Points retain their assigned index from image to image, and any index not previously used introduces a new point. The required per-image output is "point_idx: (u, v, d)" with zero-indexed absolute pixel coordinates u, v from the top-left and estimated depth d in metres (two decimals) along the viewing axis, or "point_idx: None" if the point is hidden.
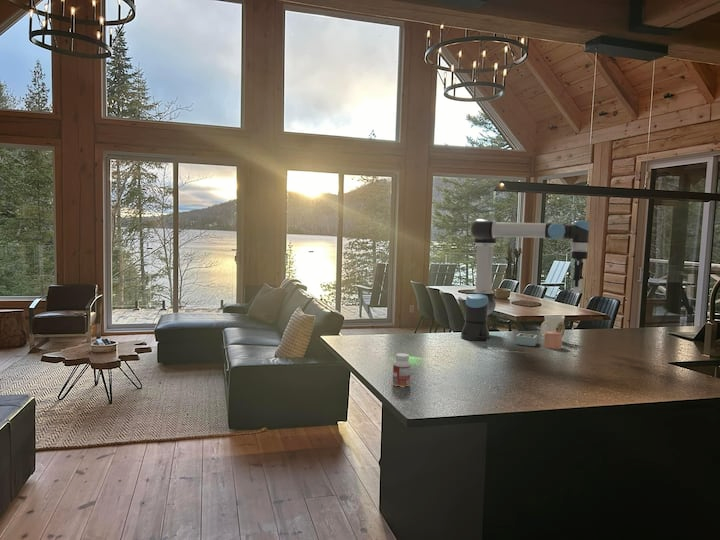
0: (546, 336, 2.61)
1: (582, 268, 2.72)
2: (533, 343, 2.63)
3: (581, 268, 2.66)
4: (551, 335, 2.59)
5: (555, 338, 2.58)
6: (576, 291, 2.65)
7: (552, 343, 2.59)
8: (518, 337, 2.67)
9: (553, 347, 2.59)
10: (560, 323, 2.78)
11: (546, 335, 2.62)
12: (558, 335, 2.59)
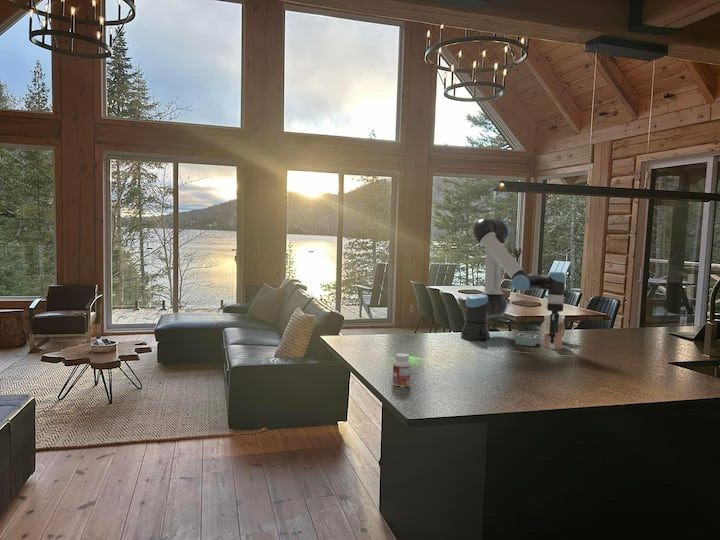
0: (546, 336, 2.61)
1: (558, 321, 2.63)
2: (533, 343, 2.63)
3: (557, 322, 2.58)
4: None
5: (555, 338, 2.58)
6: (552, 347, 2.58)
7: None
8: (518, 337, 2.67)
9: None
10: (560, 323, 2.78)
11: (546, 335, 2.62)
12: (558, 335, 2.58)
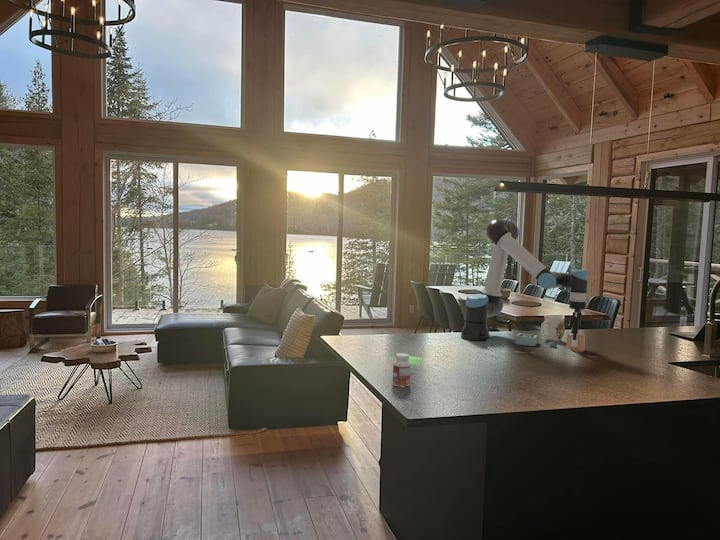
0: (568, 337, 2.61)
1: (580, 318, 2.62)
2: (533, 343, 2.63)
3: (579, 320, 2.57)
4: None
5: (578, 339, 2.57)
6: (574, 344, 2.56)
7: None
8: (518, 337, 2.67)
9: (576, 348, 2.58)
10: (560, 323, 2.78)
11: (568, 336, 2.61)
12: (581, 336, 2.58)
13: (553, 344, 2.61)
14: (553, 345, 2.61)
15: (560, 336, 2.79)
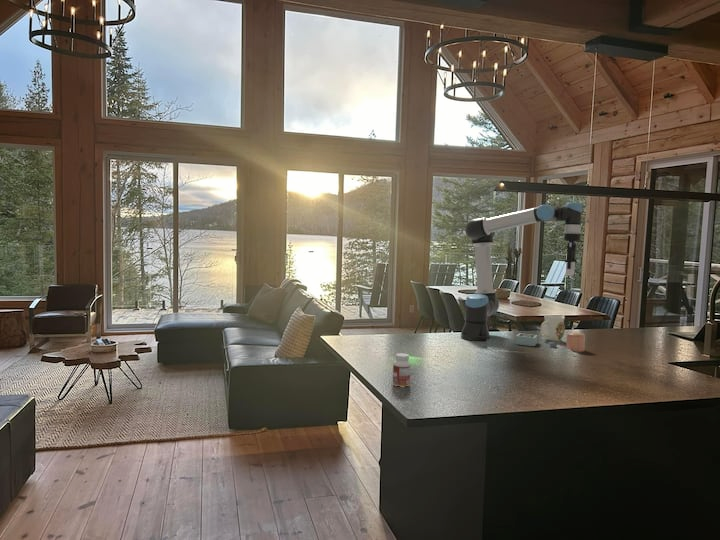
0: (568, 337, 2.61)
1: (575, 250, 2.69)
2: (533, 343, 2.63)
3: (574, 250, 2.63)
4: (574, 336, 2.58)
5: (578, 339, 2.57)
6: (569, 273, 2.62)
7: (575, 344, 2.58)
8: (518, 337, 2.67)
9: (576, 348, 2.58)
10: (560, 323, 2.78)
11: (568, 336, 2.61)
12: (581, 336, 2.58)
13: (553, 344, 2.61)
14: (553, 345, 2.61)
15: (560, 336, 2.79)
